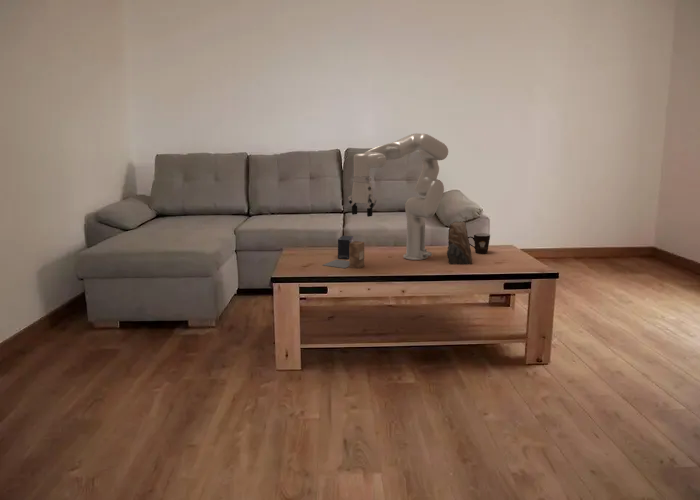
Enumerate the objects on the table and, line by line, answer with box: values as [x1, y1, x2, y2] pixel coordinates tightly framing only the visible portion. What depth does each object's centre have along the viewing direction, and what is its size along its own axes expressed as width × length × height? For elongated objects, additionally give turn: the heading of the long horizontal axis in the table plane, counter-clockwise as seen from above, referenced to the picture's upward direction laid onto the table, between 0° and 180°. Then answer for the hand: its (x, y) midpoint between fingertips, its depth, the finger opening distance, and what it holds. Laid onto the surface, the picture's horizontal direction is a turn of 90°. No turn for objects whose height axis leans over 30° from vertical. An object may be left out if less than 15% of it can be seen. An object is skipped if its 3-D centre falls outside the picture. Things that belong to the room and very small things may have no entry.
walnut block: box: [348, 240, 365, 269], centre depth 288 cm, size 5×6×12 cm
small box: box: [337, 235, 354, 260], centre depth 308 cm, size 11×6×10 cm, turn 168°
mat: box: [322, 258, 351, 269], centre depth 294 cm, size 13×13×1 cm
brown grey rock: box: [446, 221, 473, 265], centre depth 295 cm, size 13×13×20 cm
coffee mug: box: [468, 232, 491, 255], centre depth 316 cm, size 12×9×10 cm
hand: (362, 215), depth 283 cm, fingers open, 9 cm apart
